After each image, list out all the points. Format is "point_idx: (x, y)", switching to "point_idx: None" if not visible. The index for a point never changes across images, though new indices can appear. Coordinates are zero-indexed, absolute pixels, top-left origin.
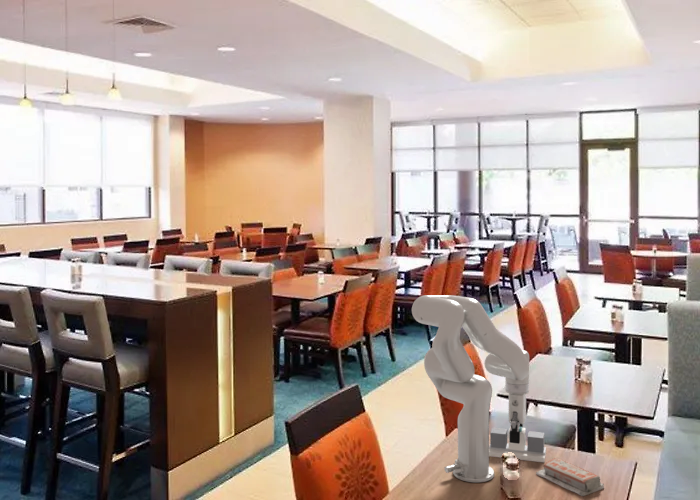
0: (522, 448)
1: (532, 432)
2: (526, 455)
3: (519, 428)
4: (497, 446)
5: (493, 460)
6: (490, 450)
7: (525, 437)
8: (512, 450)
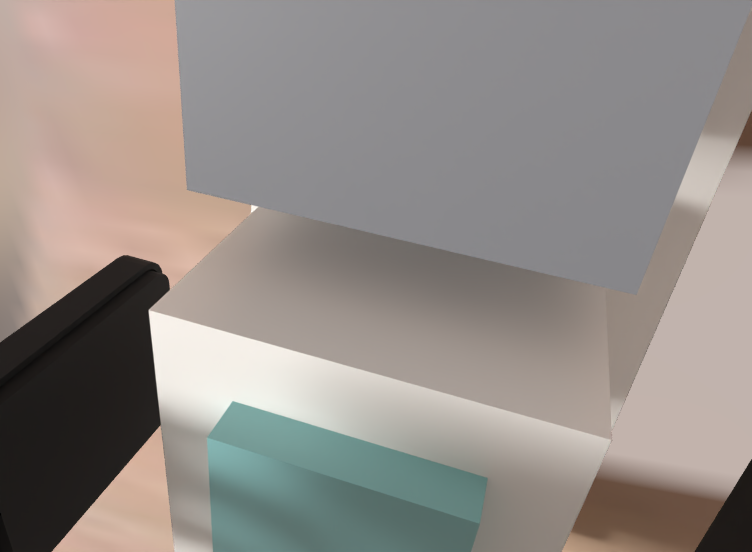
0: None
1: (262, 95)
2: (710, 150)
3: (344, 525)
4: None
5: (685, 510)
6: None
7: None
8: None
